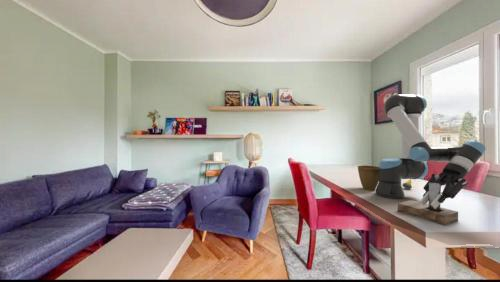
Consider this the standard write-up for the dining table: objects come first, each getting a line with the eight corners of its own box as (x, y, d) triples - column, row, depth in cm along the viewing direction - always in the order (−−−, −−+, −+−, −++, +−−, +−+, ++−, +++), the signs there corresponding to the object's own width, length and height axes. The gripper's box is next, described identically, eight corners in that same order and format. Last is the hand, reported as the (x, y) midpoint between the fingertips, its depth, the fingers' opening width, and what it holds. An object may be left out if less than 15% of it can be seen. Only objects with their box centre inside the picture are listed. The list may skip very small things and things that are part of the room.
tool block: (397, 210, 99) (397, 203, 99) (410, 207, 104) (411, 200, 104) (444, 225, 83) (445, 216, 83) (458, 220, 88) (458, 211, 88)
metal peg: (426, 212, 92) (427, 182, 91) (430, 211, 93) (431, 182, 93) (437, 215, 88) (438, 184, 88) (441, 214, 90) (442, 183, 90)
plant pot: (352, 187, 146) (352, 165, 145) (367, 186, 151) (367, 165, 150) (370, 192, 132) (371, 168, 131) (386, 191, 137) (387, 168, 136)
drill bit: (399, 188, 145) (405, 178, 148) (408, 192, 142) (413, 182, 145) (402, 185, 141) (408, 175, 144) (410, 190, 138) (416, 179, 141)
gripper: (486, 177, 85) (454, 217, 82) (441, 170, 102) (413, 204, 99) (476, 165, 84) (444, 205, 81) (433, 160, 100) (405, 194, 98)
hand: (427, 204), depth 90 cm, fingers closed on metal peg, 4 cm apart
